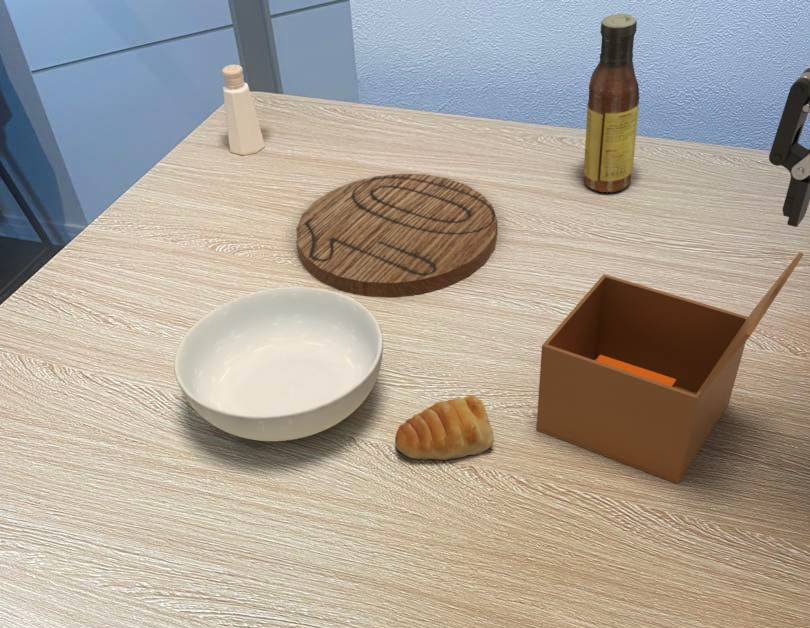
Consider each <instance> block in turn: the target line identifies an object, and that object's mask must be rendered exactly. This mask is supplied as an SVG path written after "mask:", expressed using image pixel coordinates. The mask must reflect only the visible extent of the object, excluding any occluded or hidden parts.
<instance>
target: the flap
mask: <svg viewBox="0 0 810 628" xmlns="http://www.w3.org/2000/svg"><path fill="white" fill-rule="evenodd" d="M803 256H804V253H803V252H801V251H798V253H797V254H796V255H795V257H794V258H793V260H791V262H790V263H789V265H788V266H787V267H786V268H785V269H784V271H783V272H782V273H781V274H780V276H779V277H778V278H777V279H776V280H775V282H774V283H773V285H772V286H771V287H770V288H769V290H768V291H767V292H766V293H765V294H764V296H763V297H762V298H761V299H760V301H759V302H758V303H757V305H756V306H754V308H753V309H752V311H751V312H750V314H749V315H748V316H747V317H748V318H747V320H746V321H745V323H744V324H743V326H742V327H741V329H740V330H739V332H738V333H737V335H736V336H735V338H734V339H733V341H732V342H731V344H730V345H729V347H728V348H727V350H726V351H725V352H724V354H723V355H722V357H721V358H720V360H719V361H718V363H717V364H716V366H715V367H714V369H713V370H712V372H711V373H710V375H709V376H708V378H707V379H706V381H705V382H704V384H703V385H702V387H701V388H700V390H699V391H700V392H701V393H704V391H705V390H706V389H707V388H708V386H709V385H710V384H711V383H712V382H713V380H714V379H715V378H716V377H717V376H718V374H719V373H720V372H721V371H722V370H723V368H724V367H725V366H726V365H727V363H728V362H729V361H730V360H731V359H732V357H733V356H734V355H735V354H736V353H737V351H738V350H739V349H740V348H741V347H742V345H743V344H744V343H745V342H746V343H747V341H748V340H749V338H750V337H752V334H753V332H754V331H755V330H756V328H757V326H758V325H759V323H760V322H761V321H762V318H764V316H765V315H766V313H767V311H768V310H769V308H770V307H771V305H772V304H773V302H774V300H776V297H778V294H779V293H780V292H781V290H782V289H783V287H784V285H785V284H786V283H787V281H788V279H789V277H790V276H791V275H792V273H793V272H794V270H795V269H796V267H797V266H798V264H799V263H800V262H801V259H802V258H803ZM746 343H745V344H746Z"/></svg>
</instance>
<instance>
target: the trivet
mask: <svg viewBox="0 0 810 628" xmlns="http://www.w3.org/2000/svg"><path fill="white" fill-rule="evenodd" d="M295 230H296V244H297V250H298V256H299V258H300V260H301V263H302V264H303V266H304V268H305V269H306V271H308V272H309V273H310V274H311V275H312V276H314V278H316V279H317V280H318V281H320V282H321V283H323V284H326V285H328V286H330V287H333V288H335V289H337V290H339V291H341V292H346V293H351V294H356V295H359V296H365V297H381V298H397V297H406V296H414V295H423V294H426V293H431V292H433V291H436V290H437V291H438V290H441V289H444V288H447V287H449V286H452V285H455V284H456V283H458V282H460V281H462V280H464V279H466V278H468V277H470V276H471V275H473V274H474V273H475V272H476V271H477V270H479V269H480V268H481V267H483V266H484V265H485V264H486V263H487V262H488V260H489V259H490V256H491V255H492V254H493V252H494V251H495V248H496V243H497V238H498V218H497V214H496V211H495V208H494V206H493V205H492V203H490V201H489V200H488V199H487V197H485V196H484V195H483V194H482V193H481V192H479V191H477V190H476V189H475V188H473V187H471V186H469V185H467V184H465V183H463V182H460V181H457V180H453V179H451V178H448V177H443V176H436V175H431V174H426V173H425V174H424V173H395V174H385V175H375V176H371V177H367V178H363V179H359V180H355V181H351V182H349V183H347V184H344V185H341V186H339V187H336V188H335V189H331V190H330V191H329V192H327V193H326V194H324V195H322V196H321V197H319V198H318V199H316V200H315V201H313V203H312V204H311V205H310V206H309V207H308V208H307V209H306V210H305V211H304V212H303V213H302V214H301V217H300V219H299V221H298V223H297V226H296V229H295Z"/></svg>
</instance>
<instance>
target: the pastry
mask: <svg viewBox="0 0 810 628" xmlns="http://www.w3.org/2000/svg"><path fill="white" fill-rule="evenodd" d="M394 438H395V439H394V445H395V448H396V449H397V450H398V451H399V452H400V453H402V454H403V455H405V456H406V457H408V458H410V459H415V460H423V461H427V460H437V461H447V460H453V459H459V458H464V457H466V456H470V455H472V456H475V455H479V454H482V453H483V452H486V451H487V450H489V449H490V448H491V447H492V446H493V445H494V443H495V437H494V431H493V428H492V425H491V423H490V420H489V416H488V413H487V410H486V407H485V405H484V402H483V401H482V400H481V399H480V398H479V397H477V396H476V395H473V394H471V395H467V396H466V397H462V398H452V399H447V400H444V401H443V400H441V401H437V402H435V403H434V404H432V405H431V406H429V407H427V408H425V409H423V410H422V411H421V412H419V413H417V414H415V415H413V416H411V417H410V418H408V419H407V420H405V422H403V423H402V424H400V425H399V426H398V428H397V430H396V433H395V436H394Z"/></svg>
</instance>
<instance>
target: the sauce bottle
mask: <svg viewBox="0 0 810 628" xmlns="http://www.w3.org/2000/svg"><path fill="white" fill-rule="evenodd" d="M637 21H638V20H637V18H636V17H635V16H632V15H630V14H627V13H618V14H616V13H615V14H612V15H611V14H610V15H607V16H605V17H603V18H602V20H601V22H600V23H601V24H600V35H601V43H600V45H601V46H600V54H599V62H598V64H597V66H596V67H595V68H594V70H593V72H592V74H591V76H590V80H589V84H588V101H587V104H586V105H587V106H586V108H587V109H586V123H585V124H586V126H585V141H584V142H585V144H584V160H583V162H584V163H583V173H584V182H585V186H586V187H587V188H589V189H592V190H594V191H596V192H598V191H599V192H598V193H604V192H606V193H608V192H609V193H616V192H620V191H623V190H624V189H625V188H627V187H628V186H629V185H630V184H631V181H632V172H633V170H634V159H635V149H636V138H637V128H638V116H639V108H640V107H639V105H640V88H639V82H638V79H637V77H636V73H635V67H634V66H635V65H634V60H633V58H634V53H633V52H634V41H635V35H636V33H637V25H638V23H637ZM606 193H605V194H606Z"/></svg>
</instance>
